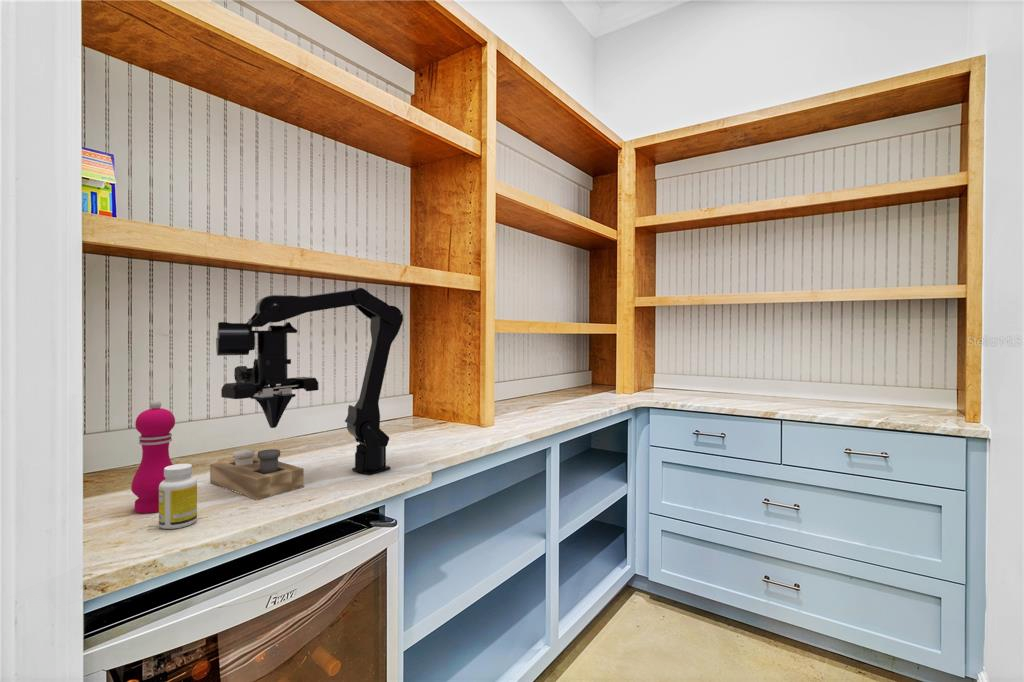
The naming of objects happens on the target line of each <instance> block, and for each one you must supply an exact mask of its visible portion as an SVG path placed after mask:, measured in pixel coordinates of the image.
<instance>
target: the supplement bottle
mask: <svg viewBox="0 0 1024 682" xmlns="http://www.w3.org/2000/svg"><path fill="white" fill-rule="evenodd" d="M191 474H193V464H191V463H177V464H176V463H175V464H173V465H171V466H167V467H165V468H164V477H166V479H165V480H163V481H162V482H161V483H160V485H159V512H158V526H159V528H160V529H162V530H163V529H164V530H172V529H173V530H175V529H180V528H185V527H188V526H190V525H192V524H194V523H195V522H196V521H197V518H198V482H197V479H196V477H194V476H193V475H191Z"/></svg>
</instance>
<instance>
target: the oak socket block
mask: <svg viewBox="0 0 1024 682" xmlns="http://www.w3.org/2000/svg"><path fill="white" fill-rule="evenodd" d="M304 470H305V469H304V467H300V466H296V465H293V464H289V463H286V462H282V461H279V460H278V471H277V472H273V473H269V474H261V473H260V459H259V458H258V454H257V455H256V454H255V456H253V464H249V465H244V466H240V467H238V466H235V459H231V460H230V459H229V460H225V461H220V462H216V463H215V462H213V463H210V464H209V483H210V482H211V483H210V484H212V483H214V484H213V485H215V484H217V485H219V486H218V487H220V486H222V487H221V488H223V487H225V488H228V489H230V490H229V491H231V490H233V491H232V492H234V491H236V492H239V493H241V494H240V495H242V494H244V495H246V496H245V497H247V496H248V498H250V497H251V498H250V499H252V498H253V500H255V499H256V500H255V501H258V499H259V500H261V499H262V498H263V499H266V498H269V497H268V496H270V497H273V496H272V495H274V496H277V495H281V494H284V493H287V491H288V492H292V491H294V489H295V490H298V489H297V488H299V489H302V488H301V487H303V488H304V487H305V485H304V482H305V480H304V477H305V475H304V474H305V472H304ZM217 485H216V486H217ZM225 488H224V489H225ZM228 489H227V490H228ZM291 490H292V491H291ZM236 492H235V493H236ZM283 492H284V493H283ZM239 493H238V494H239ZM280 493H281V494H280ZM276 494H277V495H276ZM244 495H243V496H244ZM265 497H266V498H265Z"/></svg>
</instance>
